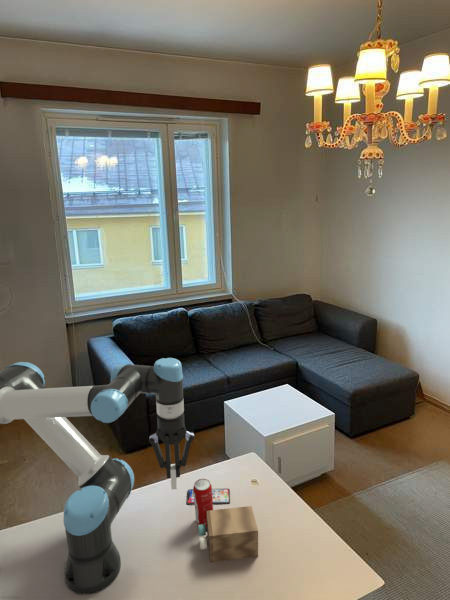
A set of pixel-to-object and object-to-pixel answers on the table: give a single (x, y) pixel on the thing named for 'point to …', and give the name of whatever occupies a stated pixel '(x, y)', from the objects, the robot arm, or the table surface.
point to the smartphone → (217, 496)
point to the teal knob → (202, 529)
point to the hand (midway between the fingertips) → (174, 486)
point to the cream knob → (203, 542)
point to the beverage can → (202, 500)
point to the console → (232, 534)
